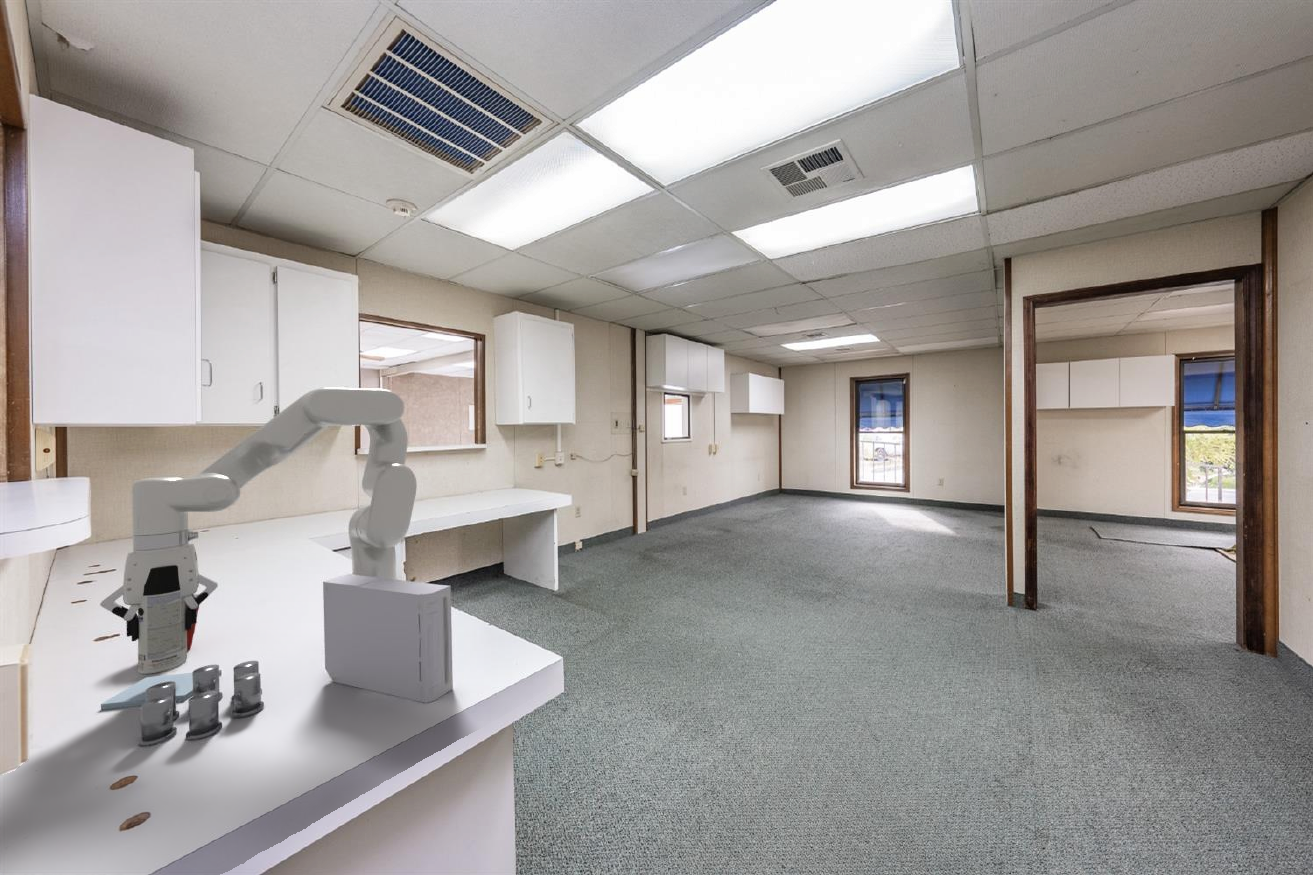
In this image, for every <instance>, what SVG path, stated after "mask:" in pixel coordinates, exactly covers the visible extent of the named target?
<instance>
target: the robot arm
mask: <svg viewBox="0 0 1313 875" xmlns="http://www.w3.org/2000/svg"><path fill="white" fill-rule="evenodd" d="M404 412H405V404H404V401H403V399H402V398H401V396H400V395H399V394H398V393H396V392H394V391H392V390H389V389H383V388H351V387H350V388H347V387H329V386H327V387H320V388H316V389H312V390H310V391H308V392H306V393H304V394H303V395H302V396H300V397H299V398H298V399H296V400H295V401H294V402H293V403H292V402H291V404H289V405H288V406H287V407H285V408H284V409H283V410H282V411H280V412H279V413H278V414H276V415H275V416H274V417H272V418H271V419H270V420H269V421H267V422H266V423H265V424H263V425H262V426H260V427H259V428H258V429H257V430H255V431H254V432H253V433H251V434H250V435H248V436H247V437H246V438H245V439H243V441H241V442H240V443H238V445H236V446H234V447H233V448H232V449H230V450H229V451H228V452H226V453H225V454H223V455H222V456H221V457H220V458H218V459H217V460H215V461H214V462H213V463H211V464H210V465H209V466H207V467H206V468H205V469H203V470H202V471H201V472H199V473H198V474H197V475H195V476H194V477H189V478H182V477H178V476H177V477H175V476H167V477H166V476H165V477H148V478H141V479H138V480H136V481H135V482H134V483H133V485H132V486H131V497H132V498H131V499H132V500H131V501H132V505H131V506H132V550H130V551H128V552H127V556H126V559H125V565H124V572H123V573H124V574H123V582H122V586H120V587H119V588H117V589H116V590H115V591H114V592H112V593H111V594H110V595H108V596H107V597H105V598H104V599H103V600H102V601H101V602H100V603H99V605H100V607H101V608H104V609H106V610H107V611H108V612H111V613H112V614H113V615H116V616H117V617H120V618H121V619H123V620H124V621H126V637H127V638H129V637H131V642H136V641H138V613H137V610H138V609H139V605H140V604H141V603H142V598H143V592H144V585H145V584H146V581H147V578H148V575H149V572H150V569H151V568H156V567H165V566H172V565H177V566H178V575H179V584H180V589H181V590H180V592H181V597H185V598H184V601H185V602H186V603H187V605H188V608H187V610H186V630H192V624H195V623H196V624H198V620H197V619H198V614H197V607H198V605H199V604H200V605H201V604H202V603H203V602H204V601H205V600H206V599H207V598H209V596H210V595H211V594H212V593H213V592H214V591H215V590H216V589H217V588H218V587H219V584H218V582H217V581H215V580H212V579H210V578H208V577H206V576H204V575H202V574H200V573H199V564H198V555H197V551H196V548H195V545H194V543H189V542H190V541H193V540H195V539H199V531H191V530H189V513H198V512H199V513H203V512H204V513H214V512H215V513H217V512H222V511H225V510H227V509H229V508H232V507H233V506H234V505H236V503H237V502H238V501H239V499H240V497H241V489H242V488H244V487H245V486H246V485H247V484H249V482H251V481H252V480H253V479H255V478H256V477H258V476H259V475H260V474H262V473H263V472H265V471H266V470H269V469H270V468H272V467H275V466H276V465H279V464H281V463H284V462H285V461H287V460H288V459H290V458H293V456H295V455H296V454H297V453H298V452H300V451H301V450H302V449H303V448H304V447H306V446H307V445H308V444H309V443H310V442H311V441H312V440H314V439H315V438H316V437H317V436H319V435H320V434H321V433H323V432H324V431H325V430H327V428H330V426H331V425H336V426H337V425H338V426H343V425H345V426H364V427H365V428H366V430H367V432H368V434H369V448H368V454H367V458H366V461H365V462H366V464H365V468H364V471H363V475H362V481H361V487H362V490H363V492H364V494H365V495H367V496H369V497H370V498H371V501H370V504H366V505H364V506H361V507H359V508H358V509H357V510H356V511H355V512H353V514H352V516H351V517H350V519H349V522H348V539H349V543H350V551H351V569H352V570H351V571H352V572H351V573H352V575H359V576H368V577H376V578H385V579H394V580H397V555H396V548H395V546H397V545H398V544H400V543H401V542H402V541H403V540H404V538H405V537H406V536H407V533H408V531H409V528H410V525H411V524H410V523H411V519H412V515H413V509H414V506H415V499H416V494H417V478H416V475H415V473H414V471H413V470H412V469H411V468H410V467H409V466H407V465H406V458H407V452H408V451H407V450H408V443H409V440H408V438H409V437H408V432H407V429H406V426H405V423H404V422H403V420H402V419H401V418H402V416H403V415H404ZM199 585H201V586H203V587H205V588H204V590H203V591H201V592H200V593H198V594H199V595H198V596H197V597H195V596H194V595H193V594H197V592H198V589H199V587H200V586H199ZM121 597H122V599H123V600H122V601H123V604H124V605H126V606H130V607H129V608H126V607H124V606H123V605H121V604H119V603H117V602H116V601H117V600H118V599H119V598H121ZM200 605H199V606H200Z"/></svg>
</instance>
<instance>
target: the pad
mask: <svg viewBox="0 0 1313 875" xmlns="http://www.w3.org/2000/svg"><path fill="white" fill-rule="evenodd" d="M221 675H222V669H219V677H220V676H221ZM170 681H173V682H175V684H176V702H182V701H187V700H189V699H190V698H192V697H193V676H192V672H186V673H177V674H166V675H158V676H157V675H156V676H146V677H144V678H143V679H141V680H139V681H138V682H136V683H135V684H132V685H131V686H130V687H128V688H126V689H124V690H123V691H120V692H119V693H117V694H115V695H114V696H112V697H111V698H109V699H107V700H105V701H104V702H103V703H101V704H100V711H103V710H111V709H112V710H113V709H120V708H129V707H130V708H131V707H138V706H141V705H142V704H143V703H145V702H146V690H147V689H148V688H149V687H151V686H154V685H156V684H160V683H164V682H170ZM102 709H103V710H102Z"/></svg>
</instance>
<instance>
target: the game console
mask: <svg viewBox="0 0 1313 875" xmlns="http://www.w3.org/2000/svg"><path fill="white" fill-rule="evenodd" d="M451 587H452V586H451V585H446V584H445V585H444V584H437V583H436V584H435V583H428V582H427V583H426V582H420V581H409V580H401V579H396V580H394V579H385V578H376V577H368V576H359V575H352V574H351V573H348V574H345V575H341V576H338V577H334V578H331V579H327V580H324V581H322V590H323V591H322V593H323V628H324V629H323V631H324V632H323V633H324V636H323V637H324V638H323V640H324V641H323V642H324V669H325V671H326V673H327V675H329V678H330V679H331V681H332V682H334V683H337V684H341V685H346V686H352V687H355V688H359V689H363V690H367V691H373V692H377V693H382V694H386V695H391V696H395V697H399V698H402V699H403V698H405V699H408V700H411V701H416V702H417V701H418V702H422V703H425V704H427V703H431V702H435V701H436V700H438V699H440V697H441V698H442V696H444V695H445V694H447V693H448V692H450V691H452V690H453V688H454V685H453V684H454V682H453V681H454V680H453V638H452V637H453V635H452V634H453V630H452V627H453V626H452V589H451Z"/></svg>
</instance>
